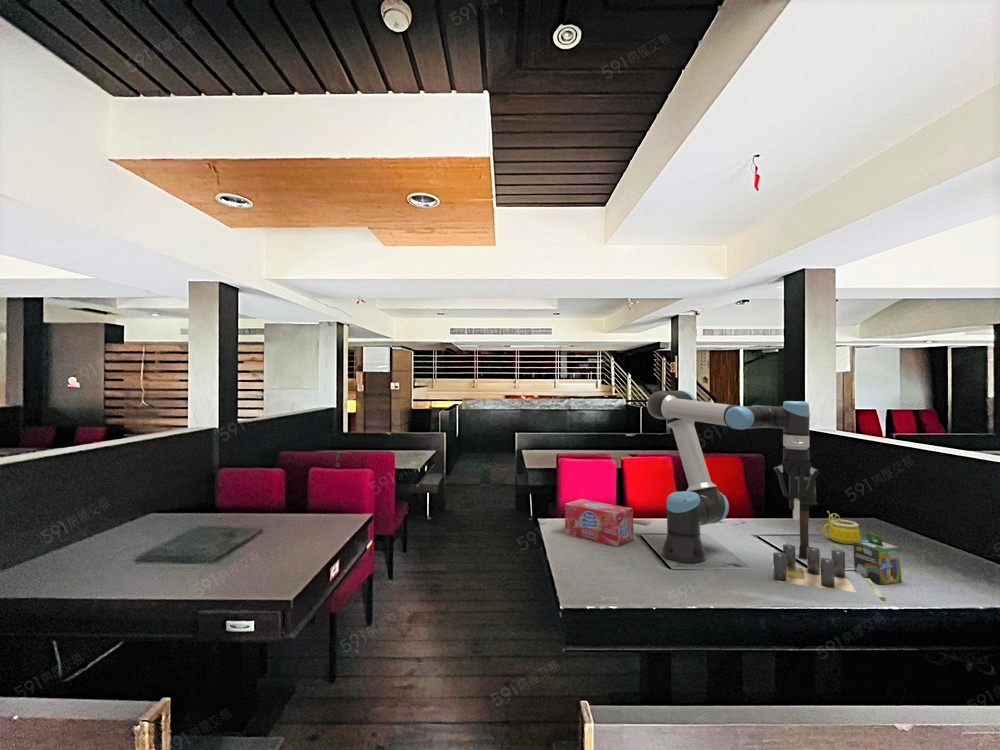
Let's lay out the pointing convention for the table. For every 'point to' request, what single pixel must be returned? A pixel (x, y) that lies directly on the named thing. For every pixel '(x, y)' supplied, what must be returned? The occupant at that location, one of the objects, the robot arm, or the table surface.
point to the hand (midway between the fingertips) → (796, 519)
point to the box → (599, 522)
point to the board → (840, 583)
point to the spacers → (811, 564)
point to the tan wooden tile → (795, 572)
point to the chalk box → (877, 560)
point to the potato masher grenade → (805, 516)
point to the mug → (842, 530)
